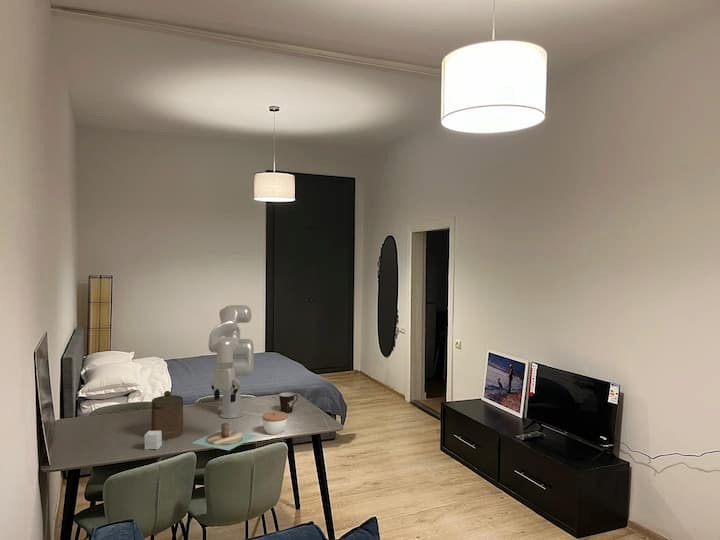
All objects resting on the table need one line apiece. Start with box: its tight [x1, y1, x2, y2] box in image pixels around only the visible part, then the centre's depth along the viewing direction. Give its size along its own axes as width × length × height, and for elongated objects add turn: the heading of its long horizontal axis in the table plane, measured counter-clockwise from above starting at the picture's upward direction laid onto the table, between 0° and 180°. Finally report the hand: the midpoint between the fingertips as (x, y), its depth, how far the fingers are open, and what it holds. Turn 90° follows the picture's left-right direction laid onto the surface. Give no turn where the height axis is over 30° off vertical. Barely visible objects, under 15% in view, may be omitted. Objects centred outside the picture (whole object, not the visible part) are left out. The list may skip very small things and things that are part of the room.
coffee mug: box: [278, 391, 298, 414], centre depth 305 cm, size 12×9×10 cm
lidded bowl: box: [261, 410, 288, 436], centre depth 269 cm, size 13×13×11 cm
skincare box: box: [143, 430, 163, 451], centre depth 247 cm, size 6×6×7 cm
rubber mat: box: [191, 429, 258, 451], centre depth 258 cm, size 22×22×1 cm
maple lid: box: [207, 422, 243, 445], centre depth 258 cm, size 17×17×7 cm
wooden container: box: [151, 390, 184, 441], centre depth 264 cm, size 15×15×22 cm
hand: (224, 400), depth 257 cm, fingers open, 9 cm apart
